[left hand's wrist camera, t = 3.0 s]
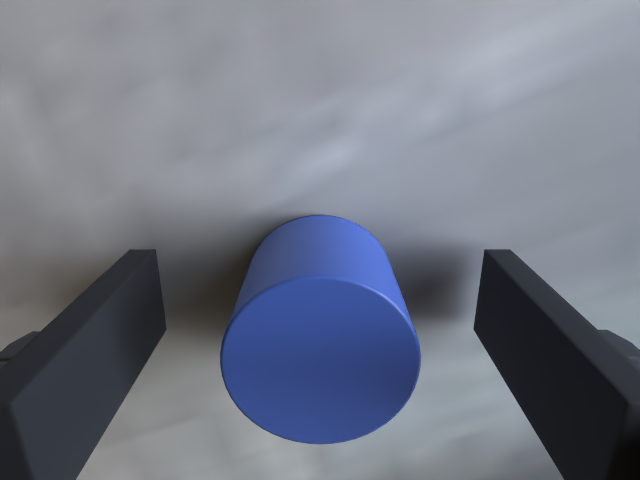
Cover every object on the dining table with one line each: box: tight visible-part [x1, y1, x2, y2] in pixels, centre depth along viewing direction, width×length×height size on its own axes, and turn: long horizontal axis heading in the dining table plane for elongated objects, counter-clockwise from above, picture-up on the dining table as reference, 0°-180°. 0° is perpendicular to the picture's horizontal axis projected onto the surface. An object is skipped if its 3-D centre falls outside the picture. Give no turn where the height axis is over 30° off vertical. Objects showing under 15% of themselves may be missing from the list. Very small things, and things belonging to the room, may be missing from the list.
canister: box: [220, 215, 421, 444], centre depth 12 cm, size 4×4×4 cm
